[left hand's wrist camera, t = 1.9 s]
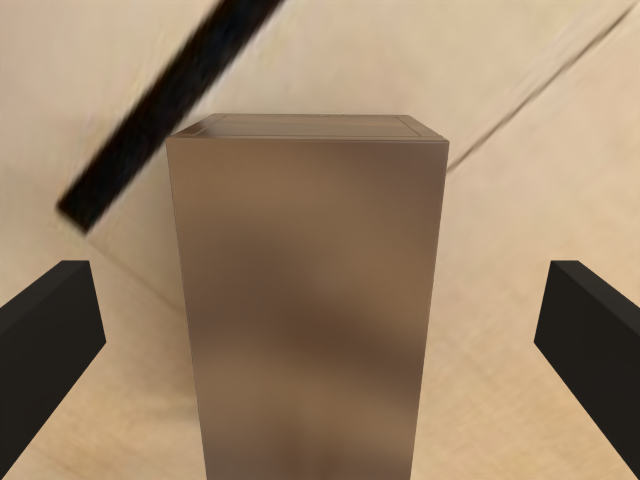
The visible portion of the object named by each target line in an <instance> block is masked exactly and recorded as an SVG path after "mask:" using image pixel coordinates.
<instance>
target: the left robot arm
mask: <svg viewBox="0 0 640 480" xmlns="http://www.w3.org/2000/svg"><path fill="white" fill-rule="evenodd" d="M105 343H106V338H105V334H104V329H103V324H102V320H101V315H100V310H99V305H98V301H97V296H96V291H95V287H94V282H93V277H92V272H91V268H90V263H89V261H61V262H59V263H58V264H57V265H56V266H54V267H53V268H52V269H50V270H49V271H48V272H46V273H45V274H44V275H42V276H41V277H40V278H39V279H37V280H36V281H35V282H33V283H32V284H31V285H29V286H28V287H27V288H26V289H24V290H23V291H22V292H20V293H19V294H18V295H16V296H15V297H14V298H13V299H11V300H10V301H9V302H7V303H6V304H5V305H3V306H2V307H1V308H0V480H2V478H3V477H4V476H5V474H6V473H7V472H8V471H9V469H10V468H11V467H12V465H13V464H14V463H15V461H16V460H17V459H18V457H19V456H20V455H21V454H22V452H23V451H24V450H25V448H26V447H27V446H28V444H29V443H30V442H31V440H32V439H33V438H34V436H35V435H36V434H37V433H38V431H39V430H40V429H41V427H42V426H43V425H44V423H45V422H46V421H47V419H48V418H49V417H50V415H51V414H52V413H53V412H54V410H55V409H56V408H57V406H58V405H59V404H60V402H61V401H62V400H63V398H64V397H65V396H66V395H67V393H68V392H69V391H70V389H71V388H72V387H73V385H74V384H75V383H76V381H77V380H78V379H79V377H80V376H81V375H82V374H83V372H84V371H85V370H86V368H87V367H88V366H89V364H90V363H91V362H92V360H93V359H94V358H95V357H96V355H97V354H98V353H99V351H100V350H101V349H102V347H103V346H104V345H105ZM534 343H535V345H536V346H537V347H538V349H539V350H540V351H541V353H542V354H543V355H544V357H545V358H546V359H547V360H548V362H549V363H550V364H551V366H552V367H553V368H554V370H555V371H556V372H557V374H558V375H559V376H560V377H561V379H562V380H563V381H564V383H565V384H566V385H567V387H568V388H569V389H570V391H571V392H572V393H573V395H574V396H575V397H576V398H577V400H578V401H579V402H580V404H581V405H582V406H583V408H584V409H585V410H586V412H587V413H588V414H589V415H590V417H591V418H592V419H593V421H594V422H595V423H596V425H597V426H598V427H599V429H600V430H601V431H602V433H603V434H604V435H605V436H606V438H607V439H608V440H609V442H610V443H611V444H612V446H613V447H614V448H615V450H616V451H617V452H618V454H619V455H620V456H621V457H622V459H623V460H624V461H625V463H626V464H627V465H628V467H629V468H630V469H631V471H632V472H633V473H634V474H635V476H636V477H637V478H638V480H640V308H639V307H638V306H637V305H635V304H634V303H633V302H631V301H630V300H629V299H627V298H626V297H625V296H624V295H622V294H621V293H620V292H618V291H617V290H616V289H614V288H613V287H612V286H611V285H609V284H608V283H607V282H605V281H604V280H603V279H601V278H600V277H599V276H598V275H596V274H595V273H594V272H592V271H591V270H590V269H588V268H587V267H586V266H584V265H583V264H582V263H581V262H579V261H551V263H550V268H549V272H548V277H547V282H546V287H545V291H544V296H543V301H542V305H541V310H540V315H539V319H538V324H537V329H536V334H535V338H534Z"/></svg>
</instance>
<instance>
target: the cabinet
mask: <svg viewBox="0 0 640 480" xmlns="http://www.w3.org/2000/svg"><path fill="white" fill-rule="evenodd" d="M166 147H167V156H168V164H169V172H170V180H171V188H172V197H173V205H174V213H175V221H176V230H177V238H178V246H179V254H180V262H181V271H182V279H183V287H184V295H185V304H186V312H187V320H188V328H189V336H190V345H191V353H192V361H193V369H194V378H195V386H196V394H197V402H198V410H199V419H200V427H201V435H202V443H203V452H204V460H205V468H206V476H207V480H410V476H411V468H412V459H413V451H414V442H415V433H416V425H417V416H418V408H419V399H420V391H421V382H422V374H423V365H424V356H425V348H426V339H427V331H428V322H429V314H430V305H431V296H432V288H433V279H434V271H435V262H436V254H437V245H438V236H439V228H440V219H441V211H442V202H443V194H444V185H445V177H446V168H447V159H448V151H449V141H448V140H447V139H445V138H443V137H442V136H441V135H439V134H437V133H436V132H434V131H433V130H431V129H429V128H428V127H426V126H425V125H423V124H422V123H420V122H418V121H417V120H415V119H414V118H412V117H410V116H409V115H303V114H213V115H211V116H209V117H207V118H205V119H204V120H202V121H200V122H198V123H196V124H194V125H192V126H190V127H188V128H186V129H184V130H182V131H180V132H178V133H176V134H174V135H172V136H170V137H168V138H167V139H166Z"/></svg>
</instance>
